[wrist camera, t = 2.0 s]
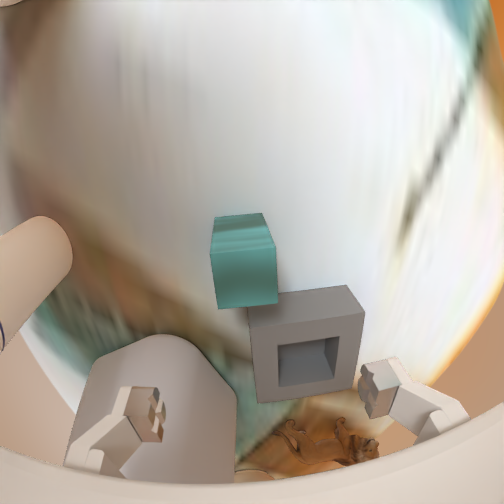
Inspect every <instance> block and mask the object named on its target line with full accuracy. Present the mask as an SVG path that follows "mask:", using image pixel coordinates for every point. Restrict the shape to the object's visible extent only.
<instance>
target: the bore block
mask: <svg viewBox="0 0 504 504" xmlns="http://www.w3.org/2000/svg"><path fill="white" fill-rule="evenodd" d="M247 310H248V320H249V330H250V340H251V350H252V359H253V369H254V377H255V386H256V394H257V403H267V402H275V401H283V400H290V399H297V398H303V397H309V396H315V395H321V394H326V393H331V392H336V391H341V390H346V389H351V388H352V384H353V380H354V375H355V370H356V365H357V359H358V354H359V348H360V343H361V337H362V330H363V324H364V317H365V311H364V309H363V308H362V307H361V305H360V304H359V302H358V301H357V299H356V298H355V296H354V295H353V294H352V292H351V291H350V289H349V288H348V287H347V285H342V286H334V287H327V288H319V289H311V290H303V291H294V292H286V293H278V303H275V304H266V305H257V306H248V307H247Z"/></svg>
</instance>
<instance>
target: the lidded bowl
mask: <svg viewBox="0 0 504 504" xmlns="http://www.w3.org/2000/svg"><path fill="white" fill-rule="evenodd" d="M267 480H276V479H274V478H273V477H271V476H270V475H268V473H267V472H265V471H262V470H241V471H237V472H235V475H234V483H245V482H257V481H267Z"/></svg>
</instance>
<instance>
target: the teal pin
mask: <svg viewBox="0 0 504 504" xmlns="http://www.w3.org/2000/svg"><path fill="white" fill-rule="evenodd" d="M210 258H211V265H212V272H213V279H214V286H215V293H216V299H217V305H218V309H227V308H237V307H248V306H257V305H266V304H275V303H278V286H277V263H276V247H275V244H274V242H273V239H272V237H271V234H270V232H269V229H268V227H267V224H266V222H265V220H264V217H263V215H262V213H256V214H245V215H235V216H224V217H215V221H214V228H213V235H212V242H211V249H210Z"/></svg>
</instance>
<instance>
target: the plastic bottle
mask: <svg viewBox="0 0 504 504" xmlns="http://www.w3.org/2000/svg"><path fill="white" fill-rule="evenodd" d="M122 386H138V387H157V388H158V390H159V392H160V396H159V398H160V399H162V400H163V402H164V404H165V408H166V419H165V422H164V423H163V424H162V427H163V429H164V432H163V438H162V443H158V442H142V444H141V445H140V447H139V448H138V449H137V450H136V451H135V452H134V454H133V455H132V456H131V457H130V458H129V459H128V460H127V462H126V463H125V464H124V465H123V466H122V467H121V468H120V470H119V471H120V472H121V473H122V474H123V475H124V476H125V477H126V479H131V480H139V481H149V482H161V483H179V484H227V483H234V475H235V446H236V418H237V398H236V395H235V393H234V391H233V390H232V389H231V387H230V386H229V385H228V384H227V383H226V382H225V380H224V379H223V378H222V377H221V376H220V375H219V373H218V372H217V371H216V370H215V369H214V367H213V366H212V365H211V364H210V363H209V361H208V360H207V359H206V358H205V357H204V355H203V354H202V353H201V352H200V350H199V349H198V348H197V347H196V346H194V345H193V344H192V343H190V342H189V341H187V340H185V339H183V338H181V337H178V336H174V335H168V334H157V335H152V336H148V337H146V338H144V339H141V340H139V341H137V342H134V343H132V344H130V345H127V346H125V347H123V348H120V349H118V350H115V351H113V352H111V353H108V354H106V355H103V356H101V357H100V358H98V359H97V360H96V361H95V362H94V364H93V365H92V368H91V371H90V373H89V376H88V379H87V382H86V385H85V388H84V391H83V394H82V398H81V401H80V404H79V407H78V411H77V414H76V418H75V421H74V425H73V428H72V431H71V435H70V439H69V443H68V446H67V450H66V455H65V459H64V463H65V460H66V458H67V455H68V452H69V449H70V446H71V444H72V443H73V442H74V441H76V440H77V439H78V438H79V437H81V436H82V435H83V434H85V433H86V432H87V431H88V430H89V429H91V428H92V427H93V426H94V425H96V424H97V423H98V422H99V421H101V420H102V419H103V418H104V417H106V416H107V415H111V413H112V410H113V407H114V404H115V401H116V398H117V395H118V392H119V389H120V388H121V387H122ZM64 463H63V466H64Z"/></svg>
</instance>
